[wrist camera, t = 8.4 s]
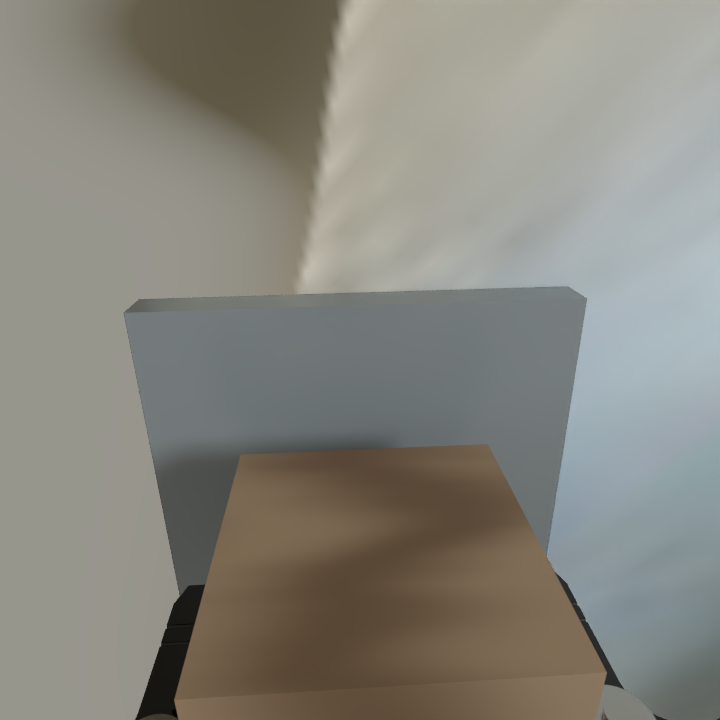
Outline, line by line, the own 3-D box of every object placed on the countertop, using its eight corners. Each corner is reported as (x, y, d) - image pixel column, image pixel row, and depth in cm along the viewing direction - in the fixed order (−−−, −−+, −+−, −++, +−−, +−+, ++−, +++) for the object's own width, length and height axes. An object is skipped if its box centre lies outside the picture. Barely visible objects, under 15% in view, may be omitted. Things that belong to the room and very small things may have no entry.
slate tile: (568, 286, 15) (586, 298, 14) (523, 599, 20) (535, 627, 19) (139, 299, 15) (123, 313, 13) (198, 618, 19) (190, 647, 18)
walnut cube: (487, 444, 13) (607, 672, 7) (470, 622, 15) (551, 895, 10) (240, 454, 13) (173, 699, 7) (261, 634, 15) (224, 923, 10)
